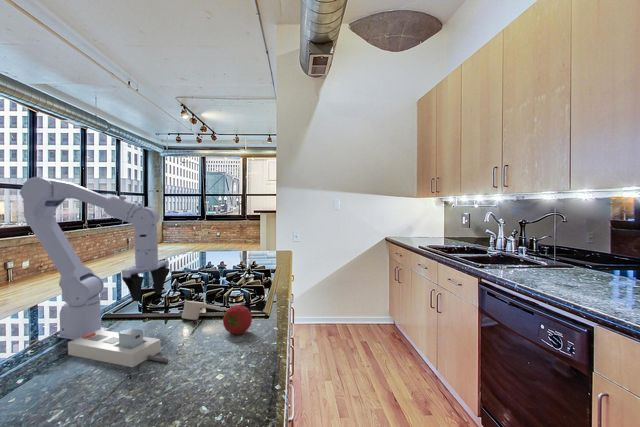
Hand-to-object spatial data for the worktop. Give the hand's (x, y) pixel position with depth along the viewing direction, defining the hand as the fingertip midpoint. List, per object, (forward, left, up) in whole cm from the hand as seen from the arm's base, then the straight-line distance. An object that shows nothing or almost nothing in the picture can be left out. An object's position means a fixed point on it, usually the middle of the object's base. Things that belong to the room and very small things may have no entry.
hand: (147, 296), depth 93 cm
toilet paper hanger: (+7, +16, -10) cm, 20 cm away
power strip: (+7, -14, -9) cm, 18 cm away
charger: (+9, -14, -10) cm, 19 cm away
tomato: (+26, +5, -10) cm, 28 cm away
